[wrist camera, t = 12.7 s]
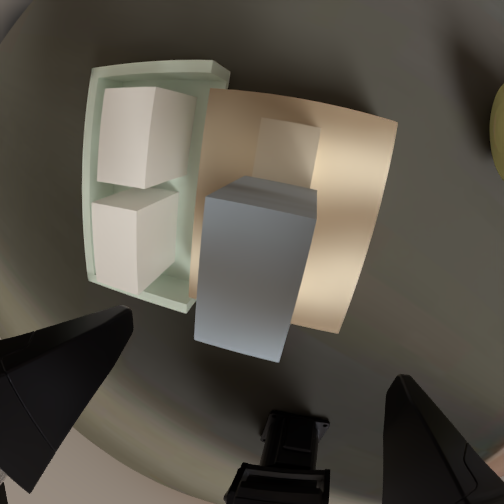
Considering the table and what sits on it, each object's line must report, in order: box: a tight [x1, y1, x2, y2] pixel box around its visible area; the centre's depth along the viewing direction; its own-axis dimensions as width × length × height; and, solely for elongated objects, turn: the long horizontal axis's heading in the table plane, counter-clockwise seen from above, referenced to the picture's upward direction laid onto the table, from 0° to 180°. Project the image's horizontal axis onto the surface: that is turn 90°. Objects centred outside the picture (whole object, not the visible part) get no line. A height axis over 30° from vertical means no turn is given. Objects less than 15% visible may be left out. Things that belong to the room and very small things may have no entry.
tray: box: [82, 60, 231, 314], centre depth 19 cm, size 17×9×4 cm, turn 171°
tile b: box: [97, 87, 197, 189], centre depth 16 cm, size 6×6×4 cm
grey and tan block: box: [194, 117, 321, 363], centre depth 12 cm, size 10×3×8 cm, turn 171°
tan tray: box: [189, 88, 398, 334], centre depth 18 cm, size 13×10×4 cm
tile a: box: [92, 187, 179, 295], centre depth 19 cm, size 6×6×4 cm
